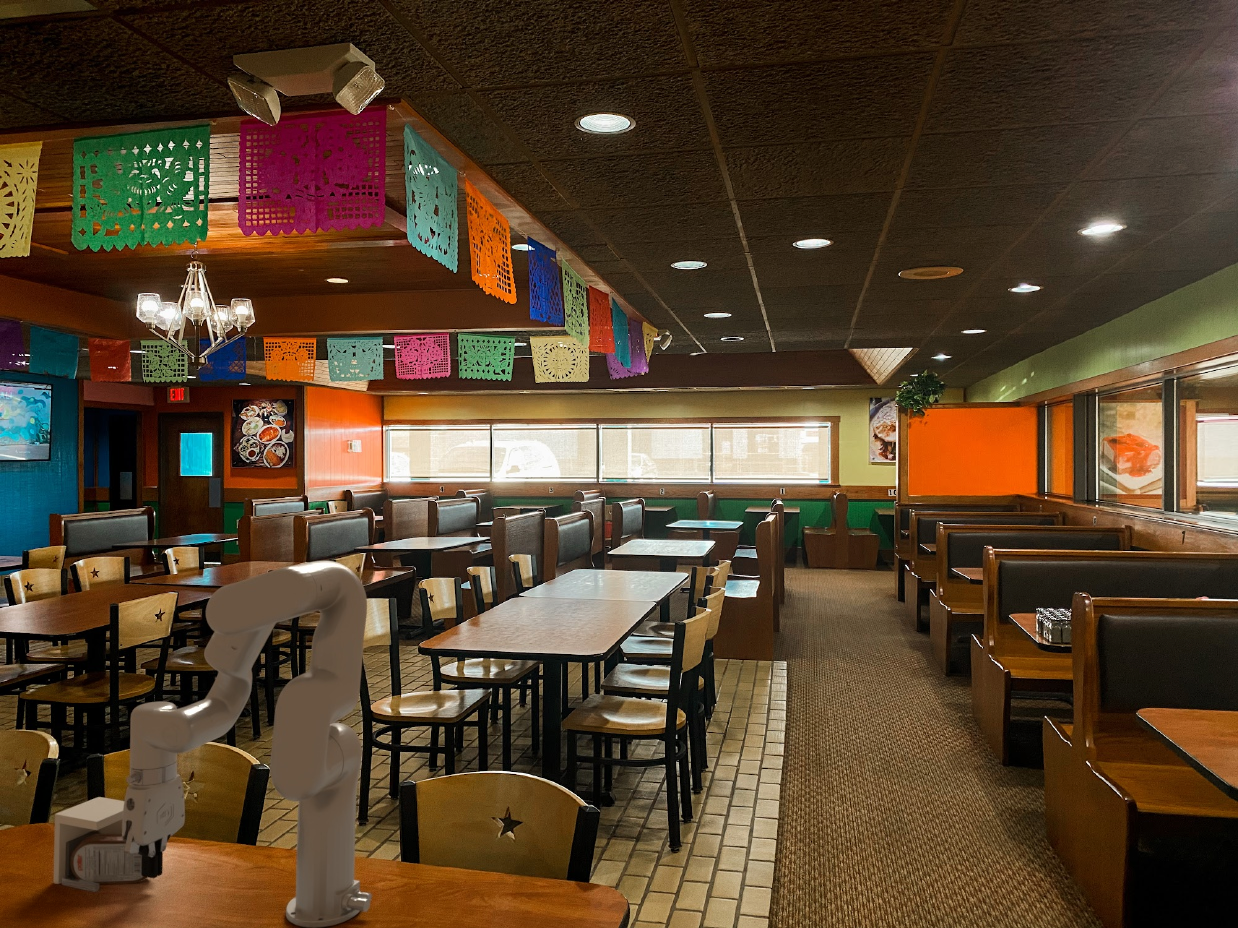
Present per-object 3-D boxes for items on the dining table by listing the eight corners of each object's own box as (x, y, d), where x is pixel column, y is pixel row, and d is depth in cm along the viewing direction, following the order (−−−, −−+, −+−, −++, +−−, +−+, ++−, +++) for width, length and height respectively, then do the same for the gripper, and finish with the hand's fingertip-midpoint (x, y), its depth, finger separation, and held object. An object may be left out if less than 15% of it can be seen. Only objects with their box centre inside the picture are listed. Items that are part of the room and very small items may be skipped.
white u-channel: (137, 870, 163) (139, 803, 163) (95, 891, 155) (96, 821, 155) (97, 861, 166) (98, 796, 167) (53, 882, 158) (55, 813, 158)
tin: (161, 876, 161) (162, 831, 161) (153, 884, 158) (154, 838, 158) (76, 878, 160) (77, 832, 160) (67, 886, 156) (68, 839, 157)
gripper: (134, 789, 148) (132, 897, 148) (202, 762, 162) (200, 860, 162) (101, 784, 151) (99, 890, 150) (170, 757, 165) (169, 855, 165)
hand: (151, 874), depth 156 cm, fingers closed
